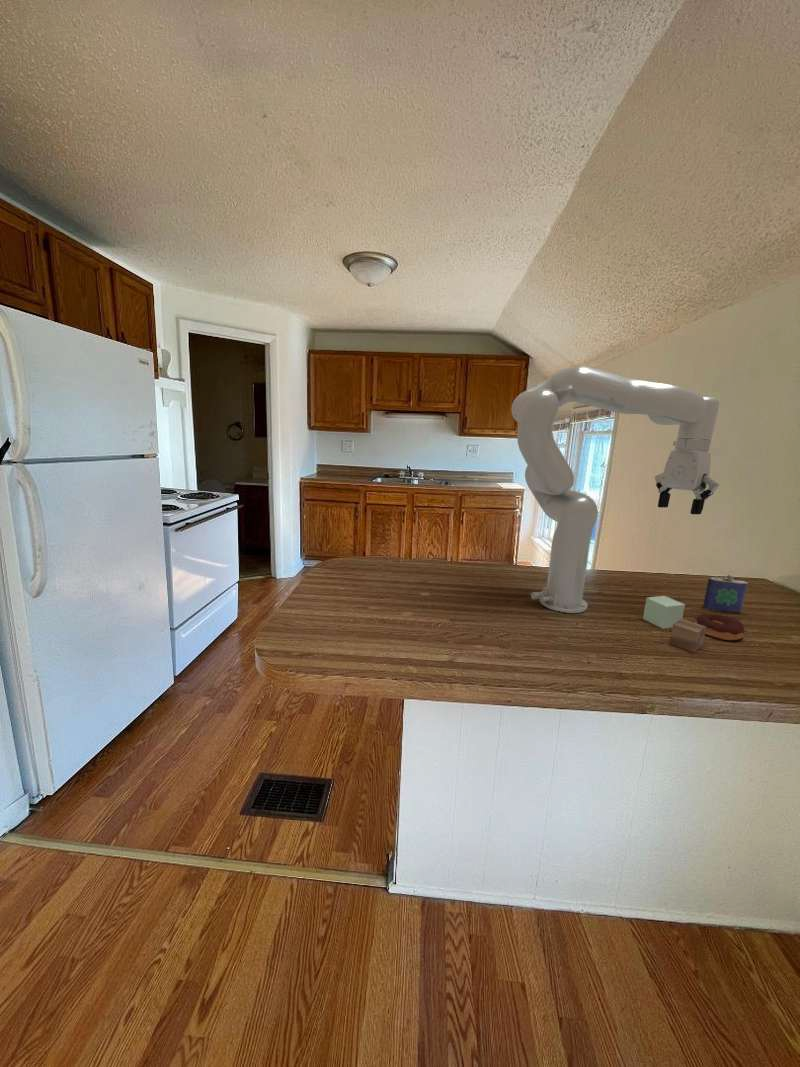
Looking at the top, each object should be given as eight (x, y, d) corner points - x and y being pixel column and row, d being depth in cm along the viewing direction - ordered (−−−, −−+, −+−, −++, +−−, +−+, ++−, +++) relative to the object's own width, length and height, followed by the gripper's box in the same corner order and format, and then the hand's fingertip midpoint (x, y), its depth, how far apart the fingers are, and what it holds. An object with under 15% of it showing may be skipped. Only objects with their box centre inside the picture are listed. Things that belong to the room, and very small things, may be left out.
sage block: (662, 629, 107) (666, 606, 105) (642, 619, 112) (646, 597, 111) (680, 626, 109) (685, 604, 107) (660, 616, 114) (664, 595, 113)
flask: (738, 610, 119) (747, 574, 117) (743, 615, 117) (752, 578, 114) (701, 606, 122) (708, 570, 119) (705, 610, 119) (712, 574, 117)
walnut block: (693, 652, 95) (698, 632, 94) (669, 643, 99) (673, 624, 98) (702, 646, 98) (706, 626, 97) (678, 638, 102) (682, 618, 101)
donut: (683, 627, 108) (686, 613, 107) (708, 622, 112) (711, 607, 111) (726, 646, 99) (730, 630, 98) (751, 639, 103) (755, 624, 102)
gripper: (653, 444, 119) (641, 504, 123) (715, 447, 103) (699, 517, 107) (672, 445, 121) (660, 504, 125) (736, 449, 105) (720, 517, 109)
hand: (678, 510), depth 116 cm, fingers open, 9 cm apart
